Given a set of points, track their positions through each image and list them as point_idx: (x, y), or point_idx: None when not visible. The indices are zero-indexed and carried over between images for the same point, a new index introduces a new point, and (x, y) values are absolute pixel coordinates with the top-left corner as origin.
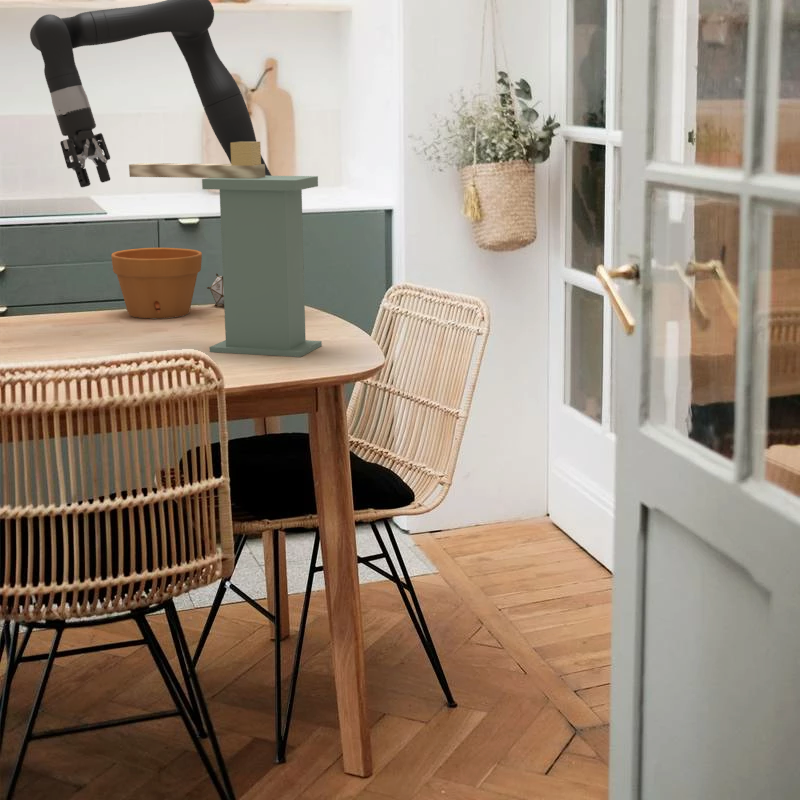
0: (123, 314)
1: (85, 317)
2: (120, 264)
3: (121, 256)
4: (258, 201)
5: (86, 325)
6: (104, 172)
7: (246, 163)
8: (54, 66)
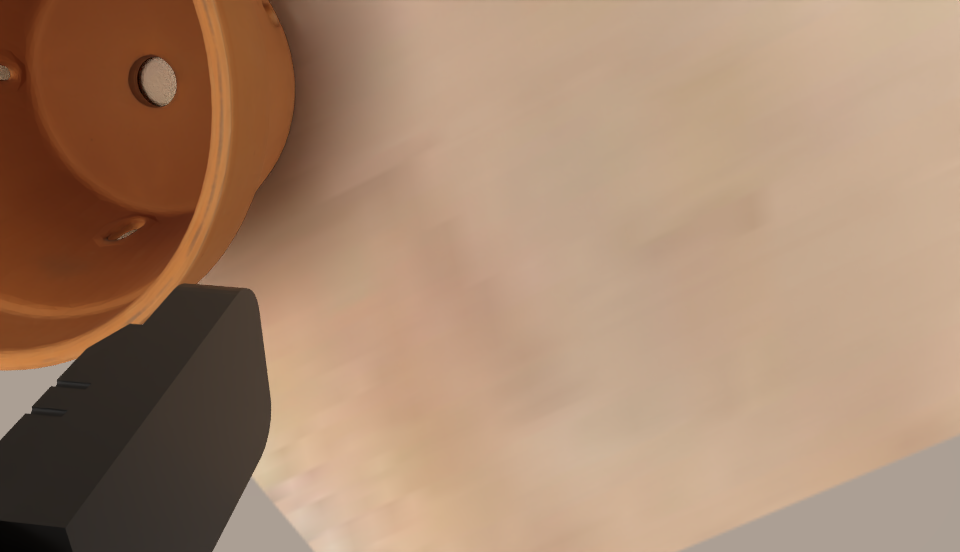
0: None
1: (328, 366)
2: (225, 224)
3: None
4: None
5: (505, 278)
6: (184, 430)
7: None
8: None
